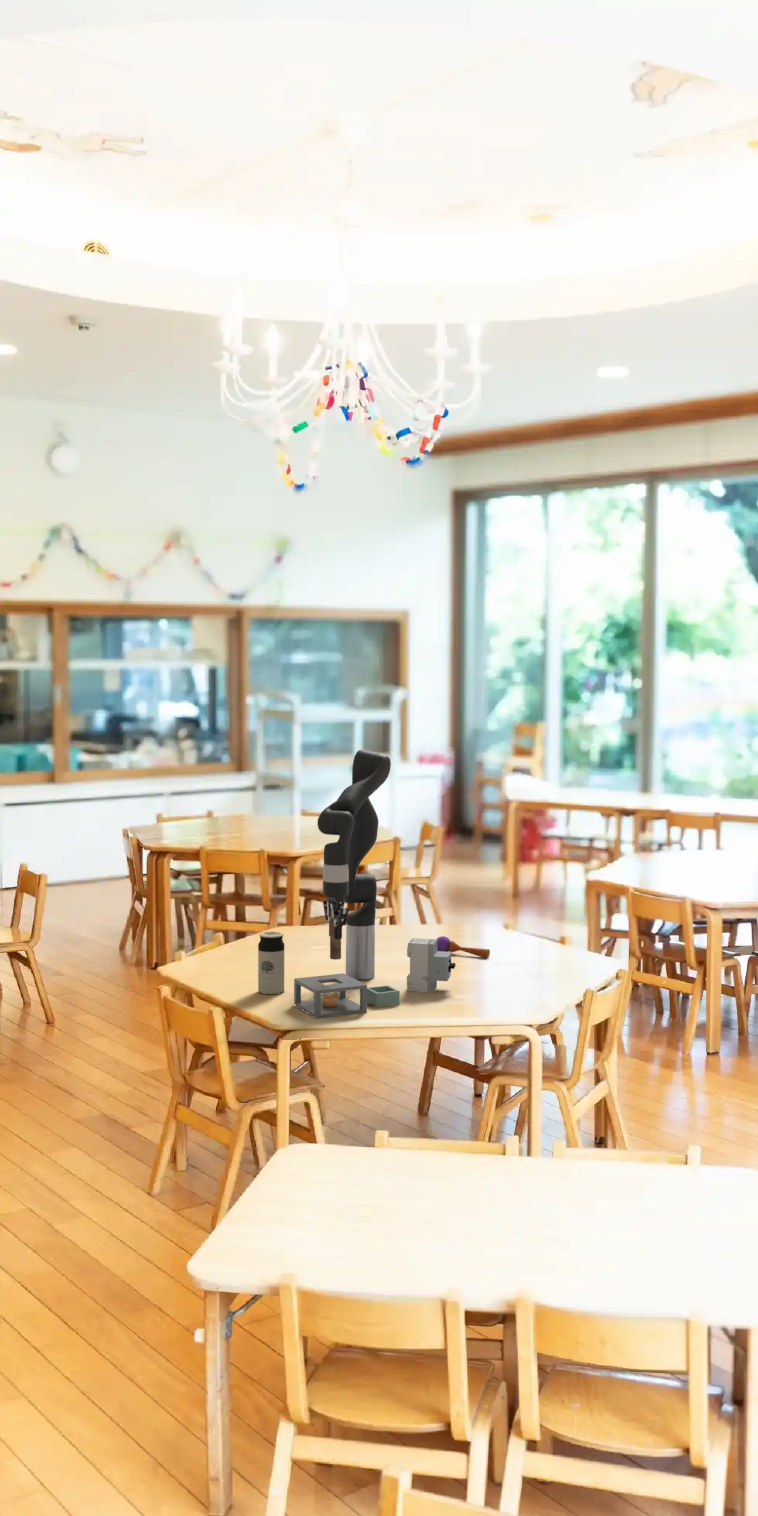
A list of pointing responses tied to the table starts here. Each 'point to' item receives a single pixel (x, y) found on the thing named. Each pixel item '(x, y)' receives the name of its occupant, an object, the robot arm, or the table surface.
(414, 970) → the circuit breaker
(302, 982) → the gray open box frame
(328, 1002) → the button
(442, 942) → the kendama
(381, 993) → the holder
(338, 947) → the brown rounded rod
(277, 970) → the travel mug
